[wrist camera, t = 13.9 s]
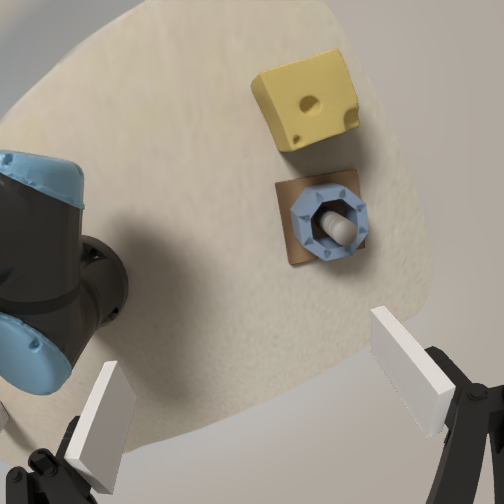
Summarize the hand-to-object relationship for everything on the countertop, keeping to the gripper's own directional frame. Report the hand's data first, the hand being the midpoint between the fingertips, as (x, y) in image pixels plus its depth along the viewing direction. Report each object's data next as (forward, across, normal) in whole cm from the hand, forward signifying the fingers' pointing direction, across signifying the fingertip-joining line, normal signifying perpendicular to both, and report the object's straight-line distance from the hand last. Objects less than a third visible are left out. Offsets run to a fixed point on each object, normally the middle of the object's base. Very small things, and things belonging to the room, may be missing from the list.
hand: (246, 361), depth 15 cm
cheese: (+32, +12, +14) cm, 37 cm away
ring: (+31, +13, -2) cm, 33 cm away
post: (+32, +13, -2) cm, 34 cm away
